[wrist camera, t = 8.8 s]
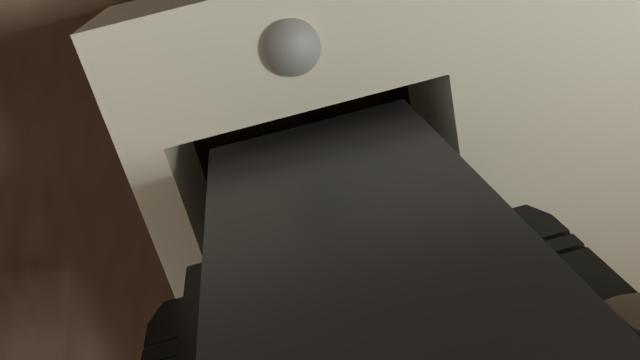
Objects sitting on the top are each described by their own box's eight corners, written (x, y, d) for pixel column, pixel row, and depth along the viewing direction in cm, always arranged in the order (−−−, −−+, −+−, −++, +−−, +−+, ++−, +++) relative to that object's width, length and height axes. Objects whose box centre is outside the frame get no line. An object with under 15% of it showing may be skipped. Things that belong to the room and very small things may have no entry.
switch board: (714, -146, 14) (868, -167, 10) (695, 228, 18) (800, 299, 14) (108, 6, 13) (68, 36, 10) (235, 355, 17) (237, 457, 14)
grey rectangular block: (404, 99, 12) (802, 500, 4) (430, 263, 14) (746, 791, 5) (209, 149, 12) (175, 689, 4) (261, 309, 13) (318, 928, 5)
